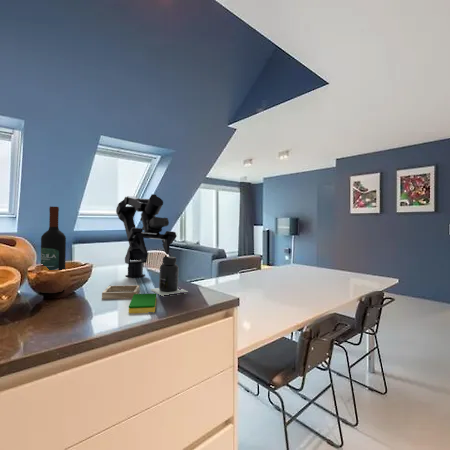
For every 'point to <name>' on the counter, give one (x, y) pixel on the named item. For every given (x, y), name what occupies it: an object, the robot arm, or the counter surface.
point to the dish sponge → (142, 303)
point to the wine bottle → (53, 244)
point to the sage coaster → (167, 292)
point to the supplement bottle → (168, 275)
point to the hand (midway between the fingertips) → (156, 253)
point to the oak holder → (115, 293)
